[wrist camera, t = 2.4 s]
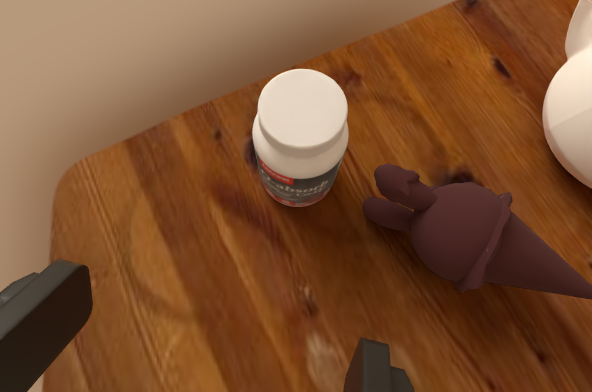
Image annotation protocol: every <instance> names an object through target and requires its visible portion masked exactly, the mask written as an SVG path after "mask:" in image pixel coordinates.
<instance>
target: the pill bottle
mask: <svg viewBox="0 0 592 392" xmlns="http://www.w3.org/2000/svg"><path fill="white" fill-rule="evenodd" d="M346 119H347V101H346V98H345V95H344V93H343V91H342V90H341V88H340V87H339V85H338V84H337V83H336V82H335V81H333V80H332V79H331V78H329V77H328V76H326V75H325V74H323V73H320V72H317V71H314V70H309V69H295V70H290V71H286V72H284V73H281V74H279V75H278V76H276V77H275V78H273V79H272V80H271V81H270V82H269V83H268V84H267V85H266V86H265V87H264V89H263V91H262V93H261V95H260V98H259V102H258V113H257V115H256V118H255V121H254V125H253V143H254V148H255V153H256V158H257V163H258V168H259V173H260V178H261V181H262V183H263V186H264V188H265V189H266V191H267V192H268V193H269V194H270V196H272V197H273V198H274V199H275V200H277V201H278V202H280V203H282V204H285V205H288V206H293V207H303V206H308V205H311V204H314V203H316V202H318V201H319V200H321V199H322V198H323V197H324V196H325V195H326V194H327V193H328V192H329V191H330V189H331V187H332V186H333V183H334V181H335V178H336V175H337V172H338V169H339V167H340V164H341V161H342V158H343V156H344V153H345V150H346V147H347V143H348V125H347V121H346Z"/></svg>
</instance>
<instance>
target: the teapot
mask: <svg viewBox="0 0 592 392" xmlns="http://www.w3.org/2000/svg"><path fill="white" fill-rule="evenodd" d="M565 51H566V55H567V58H568V61H567V62H566V63H565V64H564V65H563V66H562V67H561V68H560V70H559V71H558V72H557V73H556V75H555V76H554V78H553V80H552V81H551V83H550V85H549V88H548V90H547V93H546V96H545V99H544V104H543V127H544V132H545V137H546V140H547V143H548V145H549V146H550V149H551V151H552V152H553V154H554V156H555V157H556V159H557V160H558V161H559V163H560V164H561V165H562V166H563V167H564V168H565V169H566V170H567V171H568V172H569V173H570V174H571V175H573V176H574V177H575V178H576V179H577V180H579V181H580V182H582V183H583V184H585V185H586V186H588V187H589V188H591V189H592V0H579V2H578V5H577V7H576V9H575V12H574V14H573V17H572V19H571V22H570V25H569V28H568V32H567V36H566V42H565Z"/></svg>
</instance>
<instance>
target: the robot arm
mask: <svg viewBox="0 0 592 392" xmlns="http://www.w3.org/2000/svg"><path fill="white" fill-rule="evenodd" d="M92 306H93V302H92V293H91V284H90V275H89V269H88V267H87V266H85V265H81V264H77V263H73V262H70V261H66V260H62V259H59V260H56V261H54V262H53V263H52V264H50V265H49V266H48V267H47V268H46V269H45V270H43V271H42V272H41V273H40V274H38V273H35V272H34V273H32V274H30V275H27V276H25V277H23V278H21V279H19V280H17V281H15V282H13V283H11V284H10V285H9V286H8V287H6V288H5V289H4V290H3V291H1V292H0V392H27V391H28V390H29V389H30V388H31V387H32V385H33V384H34V383H35V382H36V381H37V380H38V378H39V377H40V376H41V375H42V374H43V373H44V371H45V370H46V369H47V368H48V367H49V366H50V365H51V363H52V362H53V361H54V360H55V359H56V358H57V356H58V355H59V354H60V353H61V352H62V351H63V349H64V348H65V347H66V346H67V345H68V344H69V342H70V341H71V340H72V339H73V338H74V337H75V335H76V334H77V333H78V332H79V331H80V330H81V328H82V327H83V326H84V325H85V324H86V322H87V320H88V319H89V316H90V314H91V311H92ZM343 392H415V391H414V388H413V386H412V384H411V382H410V380H409V378H408V376H407V374H406V372H405V370H404V369H400V368H396V367H392V366H390V352H389V346H388V344H385V343H381V342H377V341H373V340H369V339H366V338H362V337H361V338H360V340H359V342H358V345H357V348H356V350H355V353H354V356H353V358H352V361H351V363H350V366H349V369H348V372H347V375H346V379H345V384H344V391H343Z"/></svg>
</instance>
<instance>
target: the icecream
mask: <svg viewBox="0 0 592 392" xmlns="http://www.w3.org/2000/svg"><path fill="white" fill-rule="evenodd" d="M374 176H375V180H376V185H377V187H378V189H379V191H380V193H381V195H383V196H384V197H386V198H387V199H389V200H385V199H381V198H377V197H370V198H367V199H366V200H365V201H364V203H363V212H364V213H365V215H366V216H367V218H369V219H370V220H372V221H373V222H375V223H376V224H378V225H380V226H382V227H386V228H390V229H394V230H397V231H409V232H411V242H412V244H413V246H414V249H415V251H416V253H417V255H418V257H419V258H420V259H421V260H422V262H423V263H424V264H425V265H426V267H427V268H428V269H430V270H431V271H433V272H434V273H436V274H437V275H439V276H440V277H442V278H443V279H446V280H452V281H453V283H454V287H455V289H458V290H459V291H460V292H461V293H462V292H465V291H467V290H468V289H477V288H479V287H482V285H483V284H484V282H487V283H494V284H500V285H506V286H513V287H519V288H525V289H532V290H538V291H544V292H550V293H556V294H562V295H568V296H574V297H579V298H586V299H592V285H591V284H590V283H588V282H587V281H586V280H585V279H584V278H583V277H582V276H581V275H580V274H579V273H578V272H577V271H575V270H574V269H573V268H572V267H571V266H570V265H569V264H568V263H567V262H566V261H565V260H563V259H562V258H561V257H560V256H559V255H558V254H557V253H556V252H555V251H554V250H553V249H552V248H550V247H549V246H548V245H547V244H546V243H545V242H544V241H543V240H542V239H541V238H540V237H539V236H537V235H536V234H535V233H534V232H533V231H532V230H531V229H530V228H529V227H528V226H527V225H526V224H524V223H523V222H522V221H521V220H520V219H519V218H518V217H517V216H516V215H515V214H514V213H513V212H511V210H510V208H509V207H510V205H511V203H512V196H511V193H510V192H507V193H504V194H501V195H496V194H495V193H493V192H492V191H491V190H490V189H487V188H484V187H482V186H479V185H477V184H475V183H473V182H465V183H453V184H450V185H446V186H442V187H439V186H434V185H433V186H431V187H429V188H428V187H427V186H426V185H425V184H423V183H422V182H420V181H419V175H418V174H417V173H416V172H415V171H413V170H406V169H403V168H401V167H399V166H396V165H392V164H385V165H381V166H379V167H378V168H377V169H376V170H375V173H374ZM390 200H391V201H390ZM392 201H393V202H392ZM394 202H397V203H400V204H402V205H404V206H406V207H408V208H410V209H415V211H414V212H412V211H411V210H409V209H408V208H405V207H403V206H401V205H399V204H397V203H394Z"/></svg>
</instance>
